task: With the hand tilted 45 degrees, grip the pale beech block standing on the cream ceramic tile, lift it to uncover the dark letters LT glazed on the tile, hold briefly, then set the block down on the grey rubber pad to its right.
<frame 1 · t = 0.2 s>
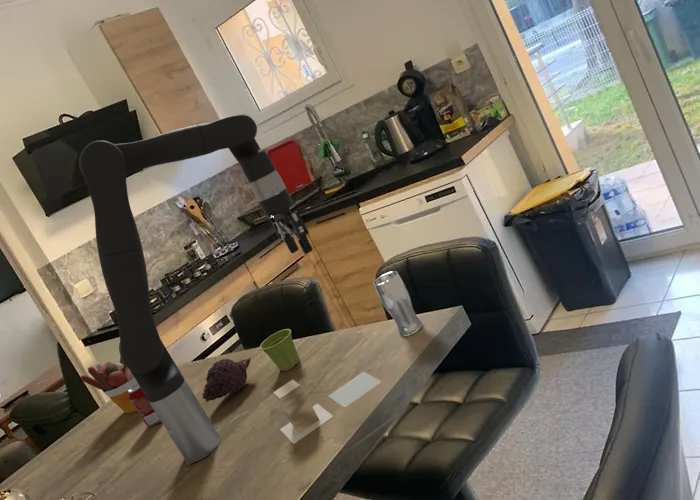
hand: (302, 252, 163), 29 cm above the table, tool pointing down, fingers open, 8 cm apart
rest pad: (355, 390, 148), on the table
beer glass: (411, 330, 164), on the table
plant pot: (290, 365, 180), on the table
soda can: (158, 421, 189), on the table
code tile: (306, 424, 144), on the table
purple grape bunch: (234, 393, 181), on the table
bucket of meat: (141, 404, 211), on the table
beech block: (305, 422, 143), resting on code tile
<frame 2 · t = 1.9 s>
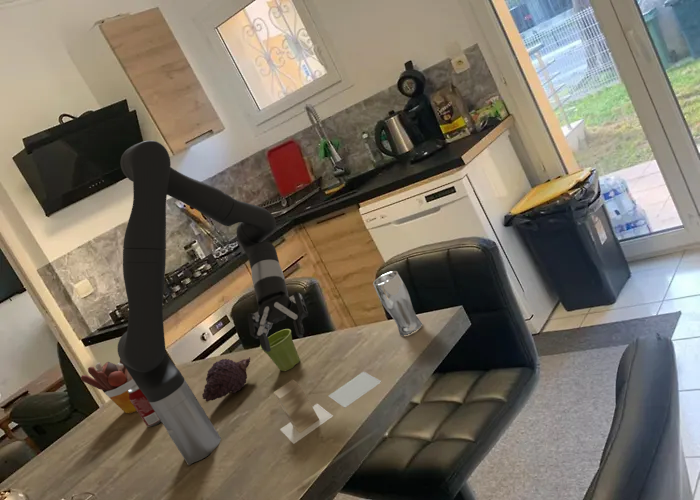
hand: (283, 343, 151), 15 cm above the table, tool tilted 45°, fingers open, 8 cm apart
nothing on the table moved.
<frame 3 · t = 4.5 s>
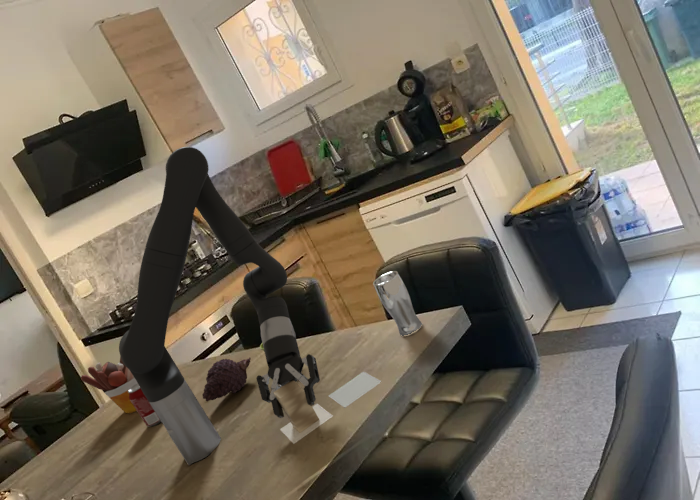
hand: (295, 410, 141), 5 cm above the table, tool tilted 45°, fingers closed on beech block, 7 cm apart
beech block: (305, 422, 143), resting on code tile, touching gripper
everything else where it was.
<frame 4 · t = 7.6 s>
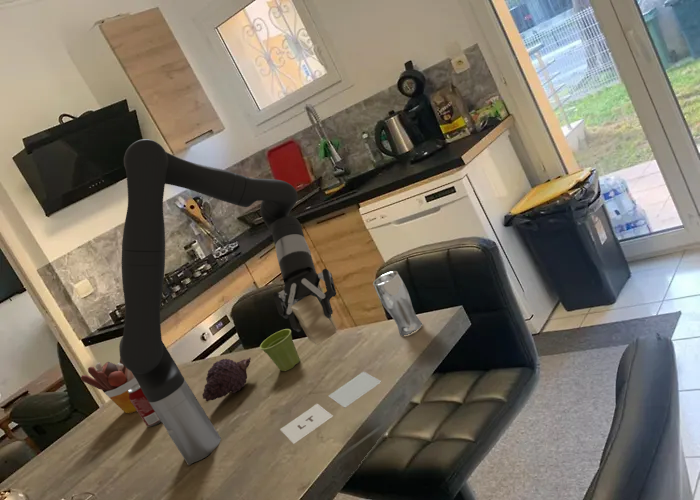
hand: (313, 323, 141), 19 cm above the table, tool tilted 45°, fingers closed on beech block, 7 cm apart
beech block: (323, 336, 144), point 15 cm above the table, touching gripper
everything else where it was.
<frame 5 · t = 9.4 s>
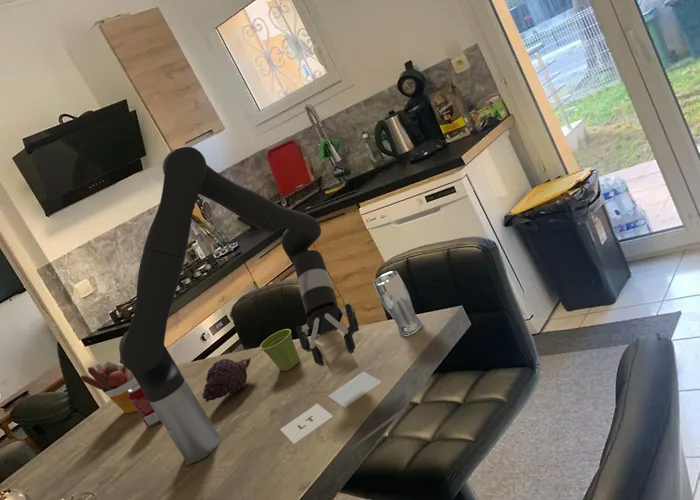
hand: (336, 358, 144), 9 cm above the table, tool tilted 45°, fingers closed on beech block, 7 cm apart
beech block: (345, 370, 146), point 5 cm above the table, touching gripper
everything else where it was.
when the fingers open (6 cm above the table, at t = 10.8 s): beech block drops 1 cm, resting on rest pad.
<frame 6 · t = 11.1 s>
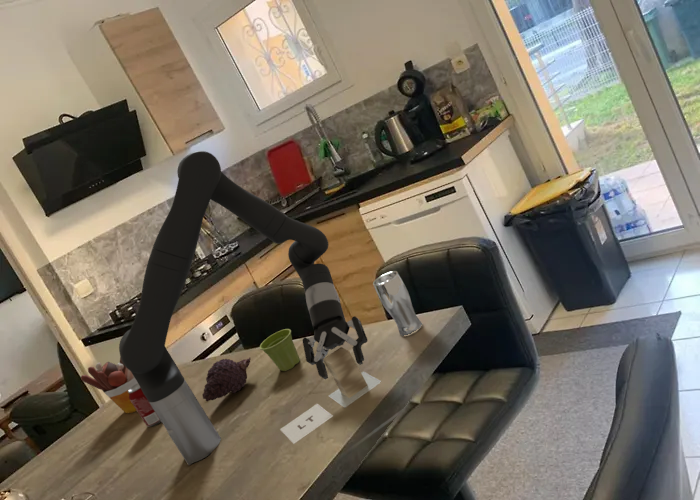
hand: (342, 370, 145), 6 cm above the table, tool tilted 45°, fingers open, 8 cm apart
beech block: (354, 388, 148), resting on rest pad
everything else where it was.
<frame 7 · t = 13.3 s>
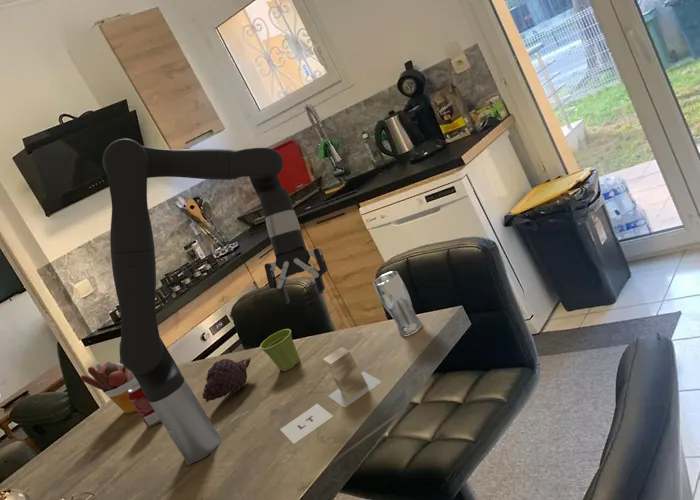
hand: (304, 298, 156), 20 cm above the table, tool tilted 20°, fingers open, 8 cm apart
nothing on the table moved.
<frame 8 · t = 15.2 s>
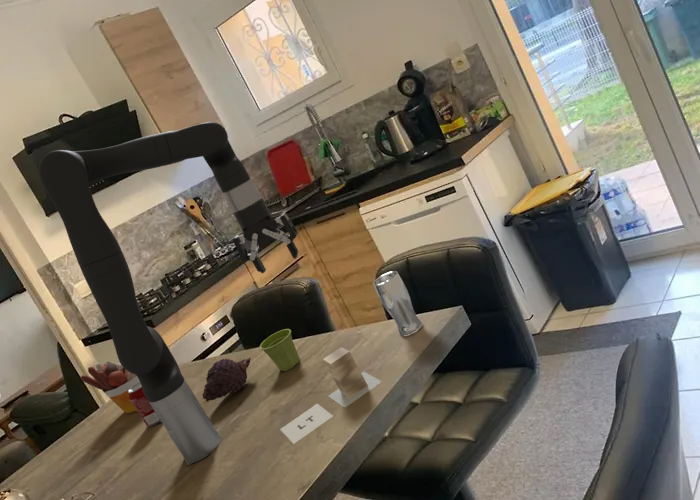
hand: (280, 264, 155), 30 cm above the table, tool pointing down, fingers open, 8 cm apart
nothing on the table moved.
at the end: beech block inside the target area on the rest pad (0.1 cm from its centre), point 0.4 cm above the rest pad's base; beech block tilted 0°; the gripper is holding nothing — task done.
